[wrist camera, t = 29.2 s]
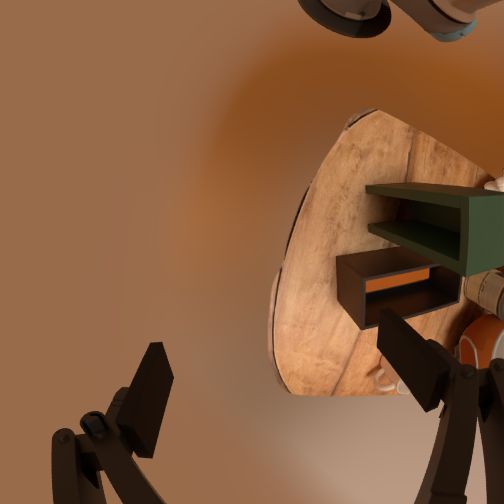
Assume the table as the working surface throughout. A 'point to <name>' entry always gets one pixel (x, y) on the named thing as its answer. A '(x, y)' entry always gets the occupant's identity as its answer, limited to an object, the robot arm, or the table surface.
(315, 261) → the table surface
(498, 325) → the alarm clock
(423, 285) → the black open rectangular box
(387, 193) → the stand
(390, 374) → the mug
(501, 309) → the coffee can
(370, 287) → the orange rectangular bar
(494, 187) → the white skull
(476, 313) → the table surface
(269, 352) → the table surface
